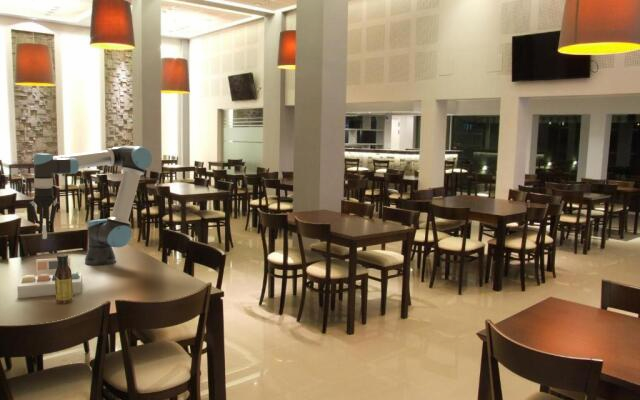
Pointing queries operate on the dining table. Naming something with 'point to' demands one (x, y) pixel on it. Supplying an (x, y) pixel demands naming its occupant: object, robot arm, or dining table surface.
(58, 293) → the sauce bottle
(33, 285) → the keypad
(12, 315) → the dining table surface
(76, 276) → the key
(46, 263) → the placard
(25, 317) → the dining table surface
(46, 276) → the key
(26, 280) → the key
